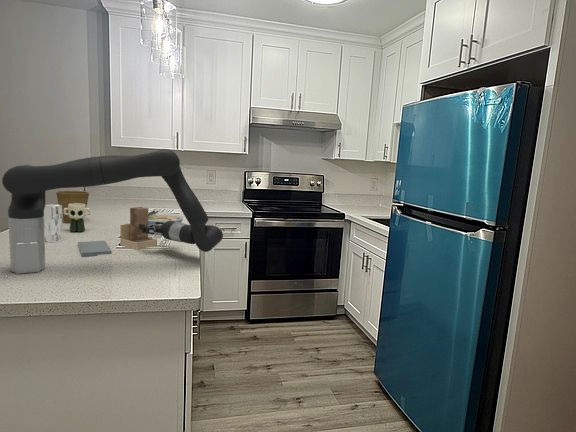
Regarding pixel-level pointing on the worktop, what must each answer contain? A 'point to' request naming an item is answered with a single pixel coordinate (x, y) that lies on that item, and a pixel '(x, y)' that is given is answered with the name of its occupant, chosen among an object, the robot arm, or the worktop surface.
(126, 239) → the carton
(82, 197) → the plant pot
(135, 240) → the walnut block
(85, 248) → the blue-grey flat slab
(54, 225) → the beer glass
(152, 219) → the ramen bowl
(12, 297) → the worktop surface
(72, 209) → the character mug
